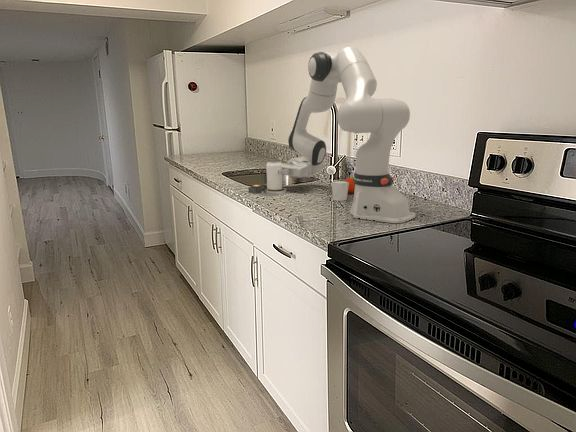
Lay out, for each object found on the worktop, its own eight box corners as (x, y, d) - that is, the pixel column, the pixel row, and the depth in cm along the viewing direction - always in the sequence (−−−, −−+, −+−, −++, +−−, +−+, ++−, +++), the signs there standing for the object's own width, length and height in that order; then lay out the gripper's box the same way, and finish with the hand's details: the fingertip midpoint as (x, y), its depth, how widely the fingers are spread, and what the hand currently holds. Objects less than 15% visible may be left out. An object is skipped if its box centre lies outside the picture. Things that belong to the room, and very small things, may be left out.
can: (279, 191, 188) (279, 162, 185) (265, 190, 190) (264, 161, 187) (284, 188, 195) (283, 160, 191) (269, 187, 196) (269, 159, 193)
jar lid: (290, 192, 192) (290, 189, 192) (276, 195, 186) (276, 192, 185) (275, 189, 198) (275, 186, 197) (261, 192, 191) (261, 189, 191)
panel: (290, 194, 192) (290, 186, 191) (271, 199, 184) (270, 191, 183) (267, 190, 201) (267, 183, 201) (247, 195, 193) (247, 187, 192)
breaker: (262, 190, 193) (262, 185, 192) (256, 191, 191) (256, 186, 190) (256, 189, 195) (256, 184, 195) (250, 190, 193) (250, 185, 192)
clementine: (363, 194, 191) (364, 177, 190) (348, 195, 189) (349, 178, 188) (355, 191, 199) (355, 175, 197) (340, 192, 197) (341, 175, 195)
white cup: (349, 198, 185) (349, 181, 183) (346, 201, 179) (347, 184, 177) (332, 197, 187) (333, 180, 185) (329, 200, 181) (329, 183, 179)
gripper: (278, 158, 205) (256, 162, 195) (313, 162, 191) (292, 166, 182) (278, 172, 206) (256, 176, 197) (313, 177, 193) (292, 182, 183)
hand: (274, 171), depth 189 cm, fingers closed on can, 4 cm apart
